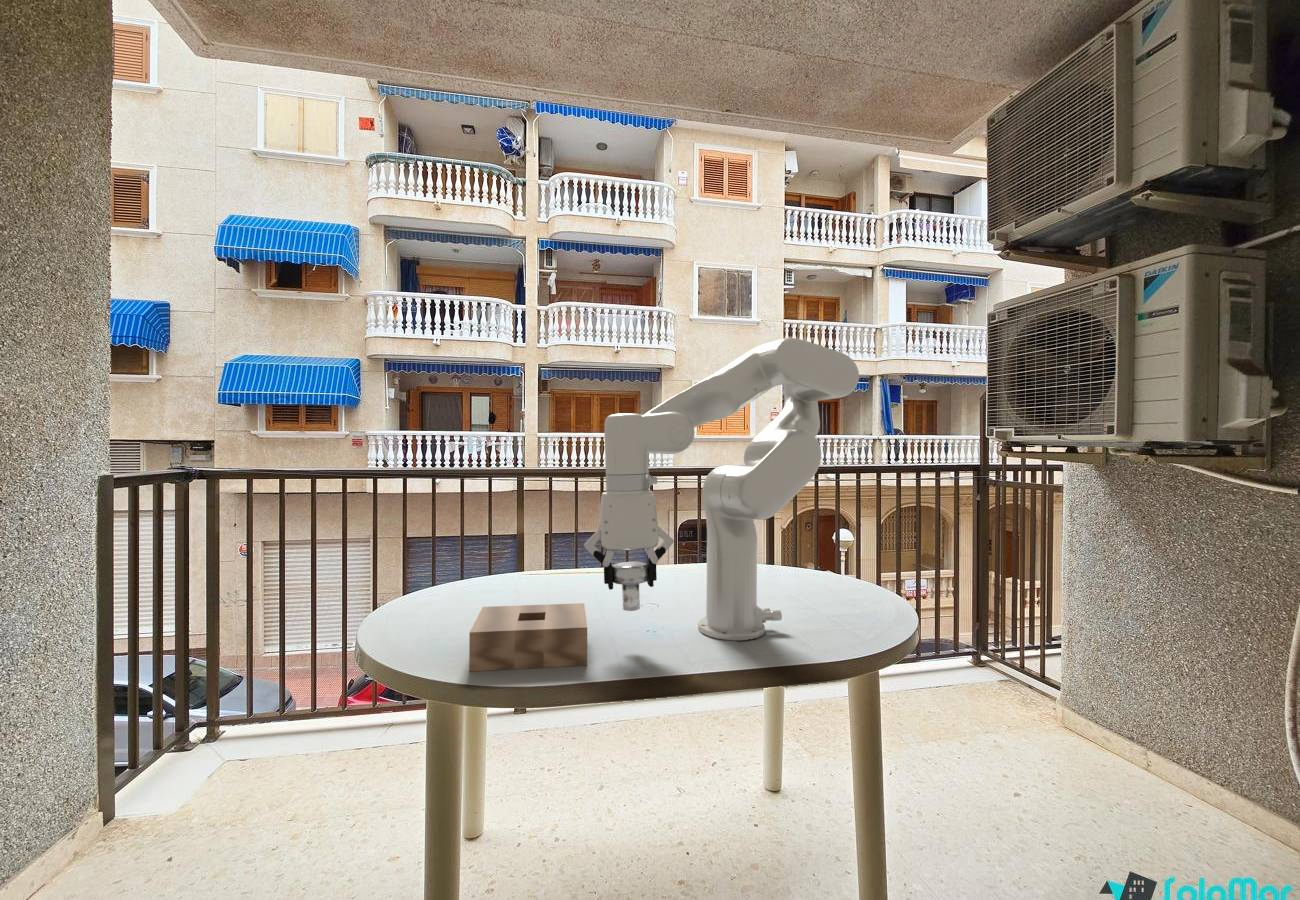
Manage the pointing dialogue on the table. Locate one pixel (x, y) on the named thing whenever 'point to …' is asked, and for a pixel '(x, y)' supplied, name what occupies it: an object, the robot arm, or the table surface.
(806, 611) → the table surface
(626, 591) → the steel pin
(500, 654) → the walnut block
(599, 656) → the table surface
